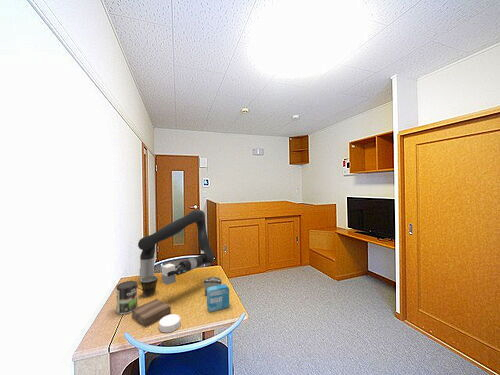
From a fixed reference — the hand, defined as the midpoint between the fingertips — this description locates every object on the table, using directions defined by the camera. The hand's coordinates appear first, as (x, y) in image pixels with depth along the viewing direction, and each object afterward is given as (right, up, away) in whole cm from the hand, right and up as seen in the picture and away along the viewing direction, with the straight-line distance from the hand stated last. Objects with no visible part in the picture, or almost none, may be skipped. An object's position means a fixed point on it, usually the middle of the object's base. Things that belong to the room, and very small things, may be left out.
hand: (164, 273), depth 129 cm
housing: (+2, -6, +2) cm, 7 cm away
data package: (+33, -18, -5) cm, 38 cm away
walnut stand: (-2, -18, -12) cm, 22 cm away
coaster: (+11, -18, -21) cm, 30 cm away
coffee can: (-19, -18, -6) cm, 27 cm away
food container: (+27, -18, +11) cm, 34 cm away
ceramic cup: (-16, -18, +10) cm, 26 cm away
